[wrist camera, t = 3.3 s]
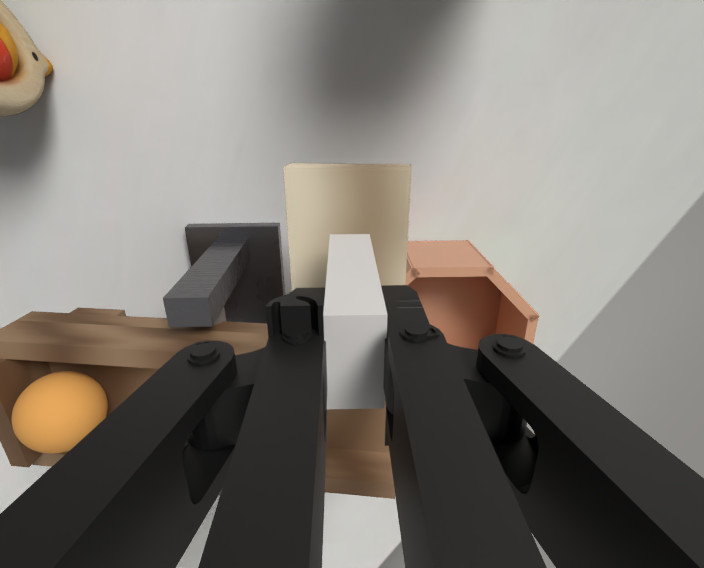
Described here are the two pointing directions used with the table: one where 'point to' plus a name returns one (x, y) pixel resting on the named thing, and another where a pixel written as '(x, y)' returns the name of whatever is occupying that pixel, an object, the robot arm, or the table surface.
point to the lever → (164, 342)
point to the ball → (58, 411)
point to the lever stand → (227, 275)
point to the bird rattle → (19, 66)
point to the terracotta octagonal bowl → (466, 293)
